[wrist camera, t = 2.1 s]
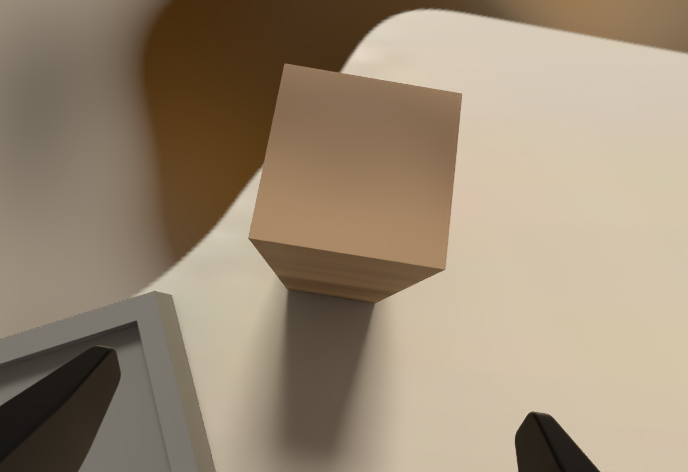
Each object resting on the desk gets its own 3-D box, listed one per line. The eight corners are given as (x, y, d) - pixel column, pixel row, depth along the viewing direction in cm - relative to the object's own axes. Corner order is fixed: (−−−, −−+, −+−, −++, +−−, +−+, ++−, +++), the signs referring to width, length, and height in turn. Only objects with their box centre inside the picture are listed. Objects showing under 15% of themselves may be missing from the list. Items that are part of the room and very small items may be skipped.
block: (375, 302, 21) (445, 269, 10) (287, 289, 21) (248, 238, 9) (386, 218, 22) (462, 93, 11) (302, 204, 22) (284, 63, 10)
